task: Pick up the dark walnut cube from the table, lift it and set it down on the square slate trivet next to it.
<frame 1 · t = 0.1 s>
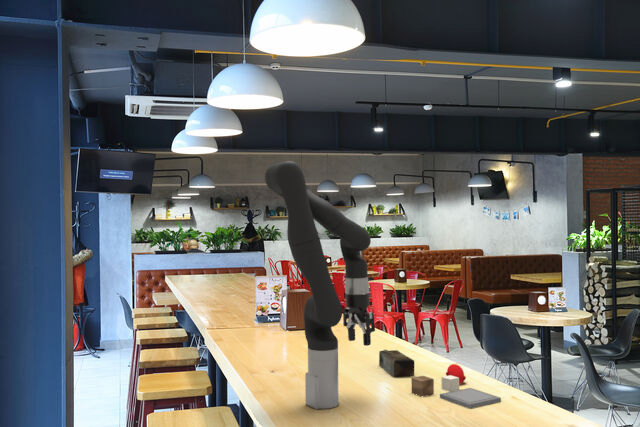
hand: (359, 342, 191), 17 cm above the table, tool pointing down, fingers open, 8 cm apart
slate trivet: (470, 399, 187), on the table
cream block: (450, 389, 199), on the table
red rounded lumpy piece: (455, 383, 207), on the table
walnut block: (422, 393, 194), on the table
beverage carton: (396, 372, 224), on the table
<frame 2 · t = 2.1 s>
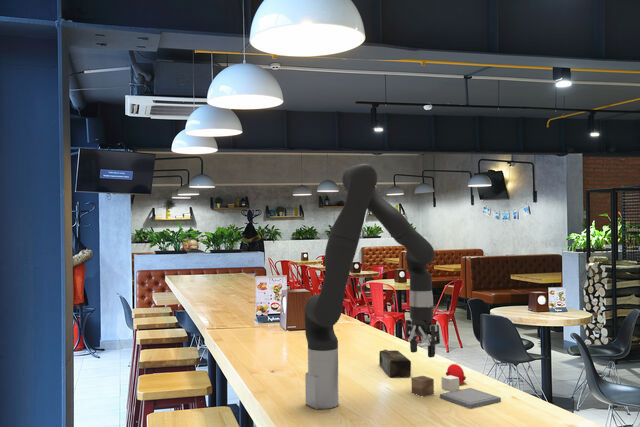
hand: (422, 354, 195), 12 cm above the table, tool pointing down, fingers open, 8 cm apart
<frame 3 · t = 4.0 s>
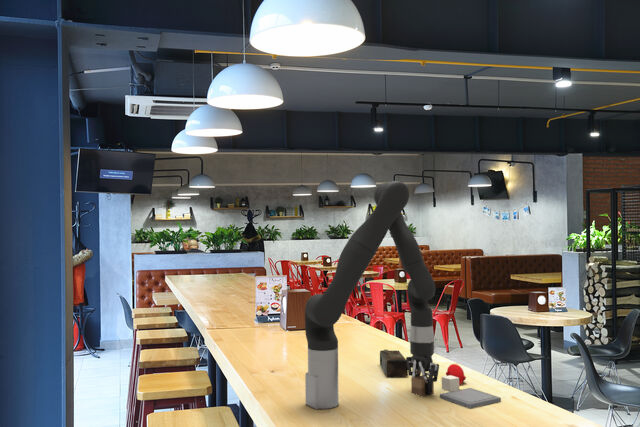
hand: (422, 392, 194), 0 cm above the table, tool pointing down, fingers closed on walnut block, 5 cm apart
walnut block: (422, 393, 194), on the table, touching gripper
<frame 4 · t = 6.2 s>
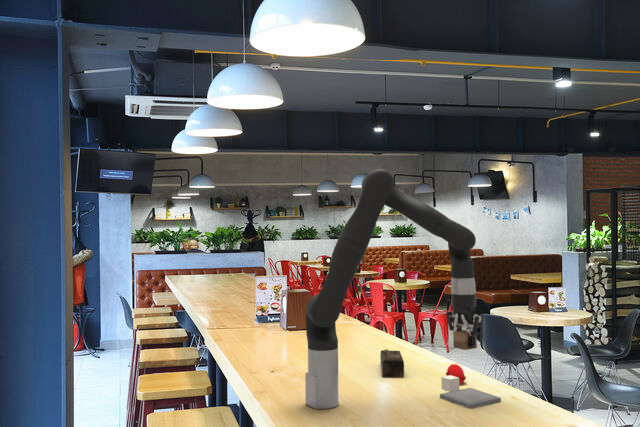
hand: (465, 346, 189), 16 cm above the table, tool pointing down, fingers closed on walnut block, 5 cm apart
walnut block: (465, 347, 189), point 16 cm above the table, touching gripper
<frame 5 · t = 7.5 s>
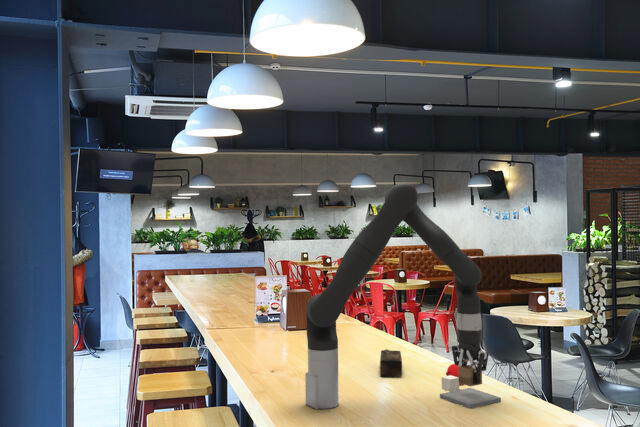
hand: (470, 381, 187), 5 cm above the table, tool pointing down, fingers closed on walnut block, 5 cm apart
walnut block: (470, 383, 187), point 5 cm above the table, touching gripper
when the fingers open (3 cm above the table, at t = 8.7 s): walnut block drops 1 cm, resting on slate trivet.
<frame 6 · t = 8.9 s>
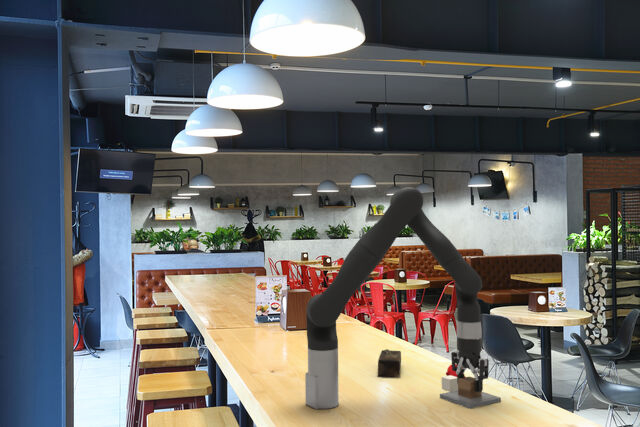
hand: (469, 389, 187), 3 cm above the table, tool pointing down, fingers open, 7 cm apart
walnut block: (469, 395, 187), point 1 cm above the table, touching slate trivet
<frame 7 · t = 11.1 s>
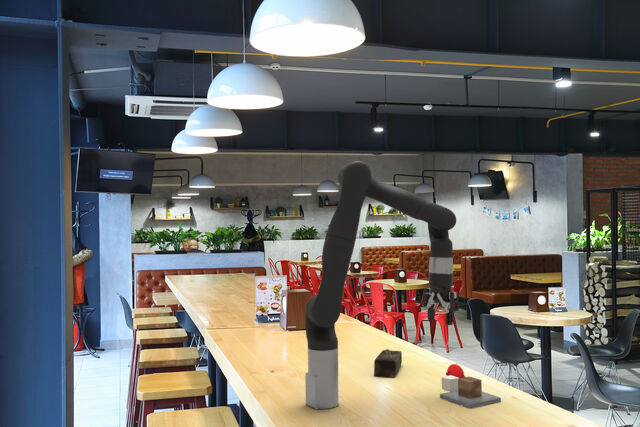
hand: (440, 322, 191), 23 cm above the table, tool pointing down, fingers open, 8 cm apart
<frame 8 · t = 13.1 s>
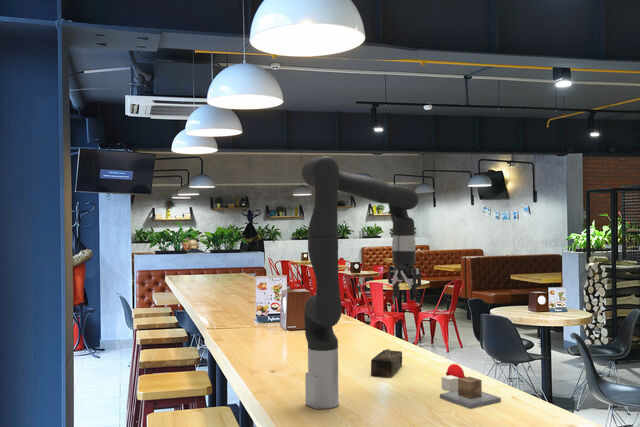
hand: (404, 298, 198), 30 cm above the table, tool pointing down, fingers open, 8 cm apart
at the end: walnut block inside the target area on the slate trivet (0.1 cm from its centre), point 1.3 cm above the slate trivet's base; walnut block tilted 0°; the gripper is holding nothing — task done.
